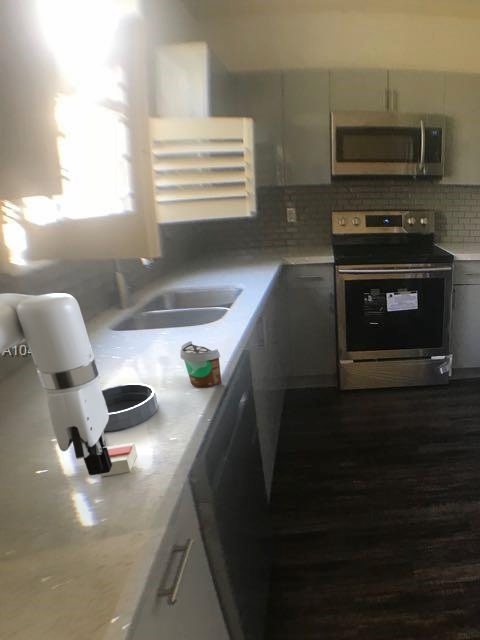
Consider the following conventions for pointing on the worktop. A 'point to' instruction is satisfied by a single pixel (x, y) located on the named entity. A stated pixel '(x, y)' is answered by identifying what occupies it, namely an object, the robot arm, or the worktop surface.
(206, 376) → the food container
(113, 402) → the pan
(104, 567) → the worktop surface
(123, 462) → the block
